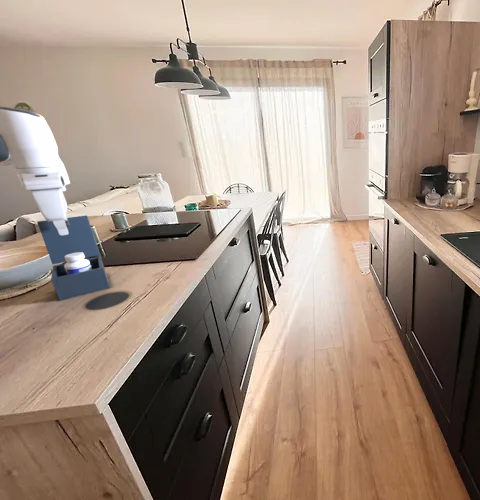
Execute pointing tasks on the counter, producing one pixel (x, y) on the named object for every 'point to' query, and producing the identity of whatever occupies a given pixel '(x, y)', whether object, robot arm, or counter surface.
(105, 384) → the counter surface
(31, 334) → the counter surface
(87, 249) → the box lid
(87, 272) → the box
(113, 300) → the coaster
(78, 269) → the pill bottle
